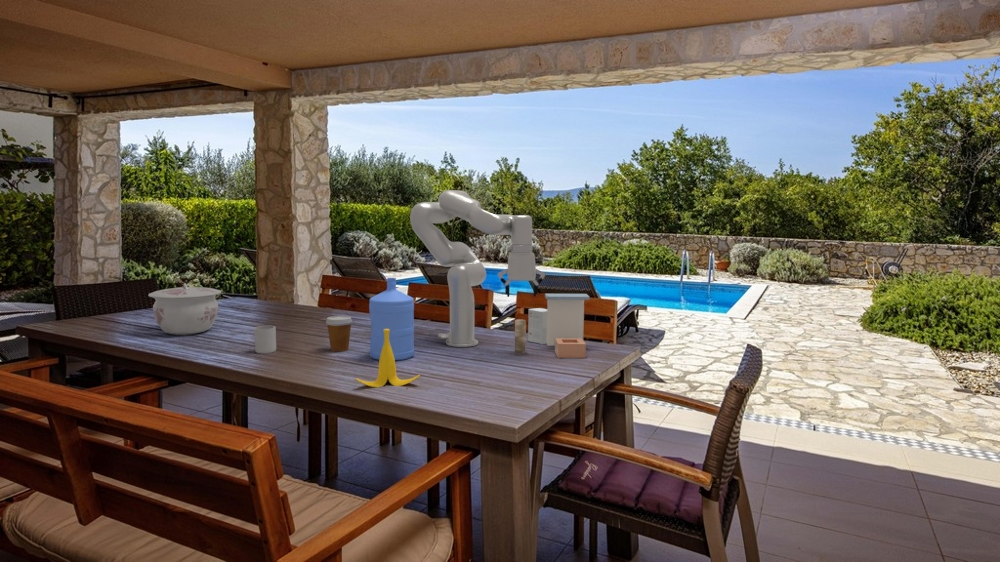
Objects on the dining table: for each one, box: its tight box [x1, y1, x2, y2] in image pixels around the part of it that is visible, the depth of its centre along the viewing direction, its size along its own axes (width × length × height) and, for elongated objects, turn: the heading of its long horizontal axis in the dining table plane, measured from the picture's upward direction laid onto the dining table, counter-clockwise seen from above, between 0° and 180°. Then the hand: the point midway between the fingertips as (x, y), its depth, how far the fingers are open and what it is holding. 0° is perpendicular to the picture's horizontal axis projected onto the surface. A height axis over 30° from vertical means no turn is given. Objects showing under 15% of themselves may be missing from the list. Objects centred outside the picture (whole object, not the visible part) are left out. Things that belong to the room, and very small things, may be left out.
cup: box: [254, 325, 277, 355], centre depth 233 cm, size 7×10×9 cm
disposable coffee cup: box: [325, 315, 353, 352], centre depth 235 cm, size 10×10×12 cm
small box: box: [527, 307, 547, 345], centre depth 253 cm, size 8×6×13 cm
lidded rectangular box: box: [544, 293, 591, 347], centre depth 242 cm, size 16×8×20 cm, turn 91°
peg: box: [514, 318, 527, 355], centre depth 234 cm, size 4×4×12 cm
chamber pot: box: [148, 282, 222, 336], centre depth 266 cm, size 28×28×21 cm
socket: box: [554, 338, 587, 359], centre depth 231 cm, size 10×10×5 cm
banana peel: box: [355, 329, 421, 388], centre depth 191 cm, size 17×19×17 cm
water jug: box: [368, 277, 415, 362], centre depth 225 cm, size 16×16×28 cm
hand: (521, 296), depth 232 cm, fingers open, 9 cm apart
